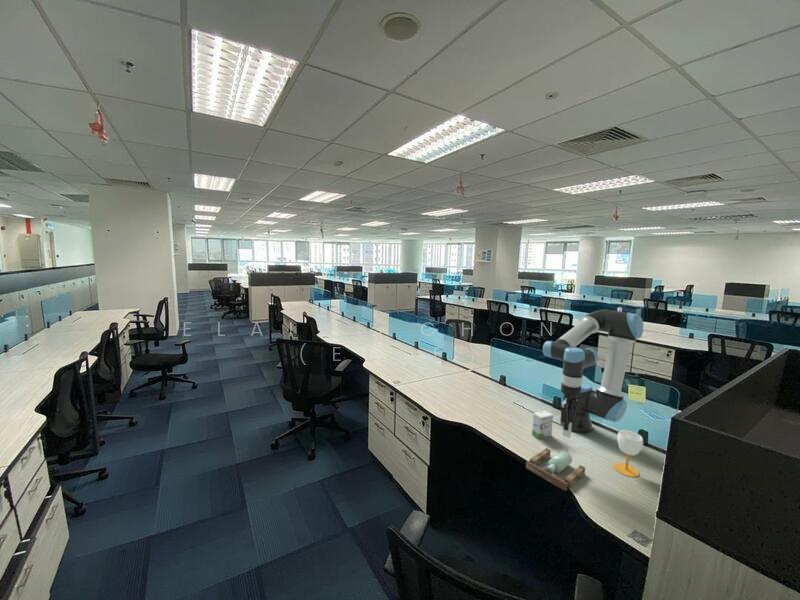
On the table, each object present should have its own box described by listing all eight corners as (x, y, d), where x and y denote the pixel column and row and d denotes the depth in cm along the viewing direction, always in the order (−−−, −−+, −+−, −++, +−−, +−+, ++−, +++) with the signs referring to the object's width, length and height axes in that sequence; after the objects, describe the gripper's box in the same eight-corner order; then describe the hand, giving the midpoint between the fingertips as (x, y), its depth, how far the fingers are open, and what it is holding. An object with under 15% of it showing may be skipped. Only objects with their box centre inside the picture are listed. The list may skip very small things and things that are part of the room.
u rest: (545, 454, 149) (546, 448, 148) (584, 474, 135) (585, 467, 135) (525, 468, 139) (526, 461, 138) (565, 491, 125) (566, 484, 125)
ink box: (538, 439, 160) (540, 417, 159) (531, 434, 165) (533, 412, 163) (551, 436, 163) (553, 414, 162) (544, 431, 168) (546, 410, 166)
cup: (640, 469, 139) (645, 435, 136) (637, 480, 132) (642, 444, 130) (615, 460, 145) (619, 427, 142) (611, 470, 138) (616, 435, 136)
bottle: (560, 448, 144) (541, 461, 134) (572, 455, 139) (554, 469, 130) (558, 459, 144) (540, 474, 135) (571, 466, 140) (553, 481, 131)
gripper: (569, 378, 143) (565, 427, 147) (554, 385, 135) (550, 436, 139) (587, 383, 137) (582, 434, 141) (573, 391, 129) (568, 445, 133)
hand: (566, 435), depth 140 cm, fingers closed
